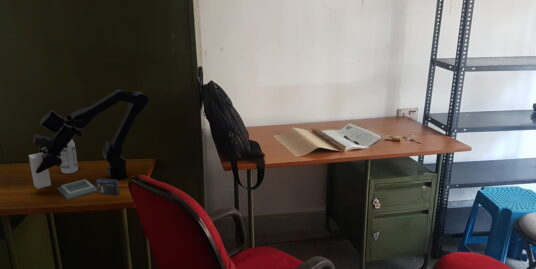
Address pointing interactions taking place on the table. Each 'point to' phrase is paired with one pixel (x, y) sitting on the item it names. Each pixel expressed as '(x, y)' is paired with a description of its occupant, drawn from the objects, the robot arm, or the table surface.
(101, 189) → the mini dv tape
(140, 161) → the table surface
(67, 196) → the base plate
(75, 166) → the bath foam
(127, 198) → the table surface
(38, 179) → the white post
